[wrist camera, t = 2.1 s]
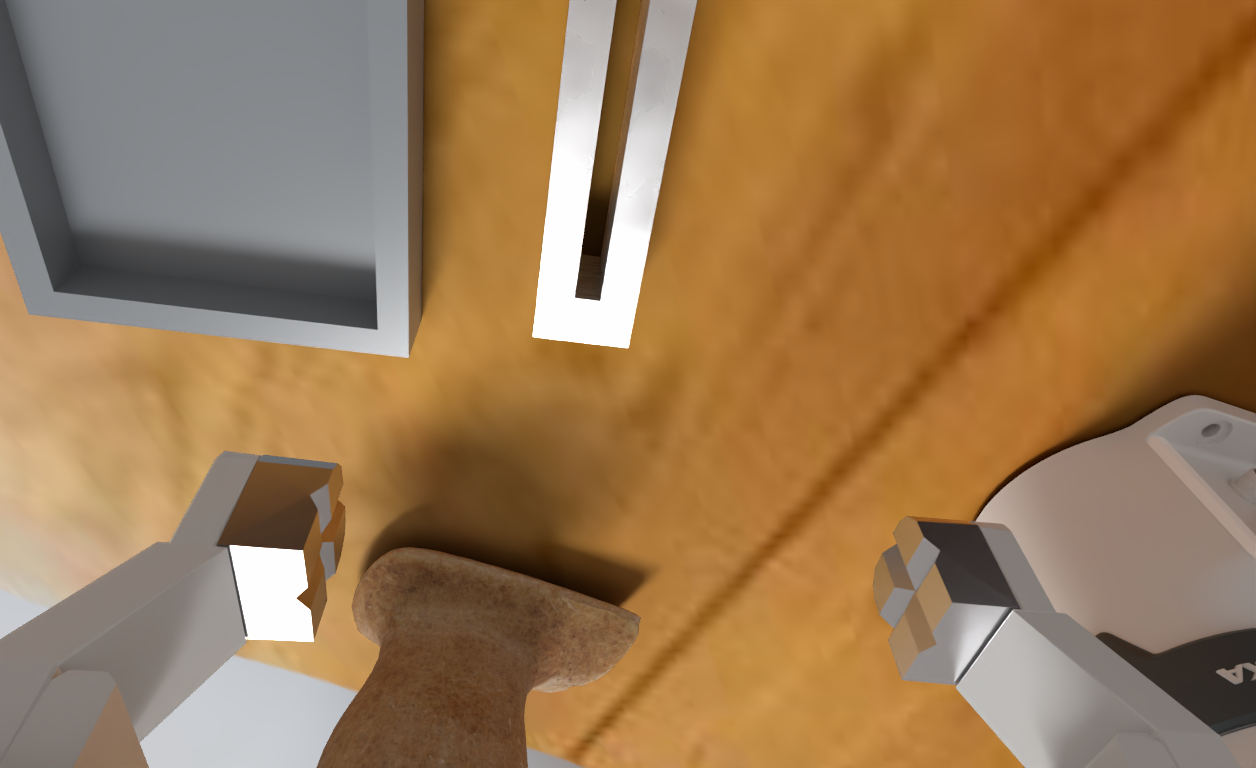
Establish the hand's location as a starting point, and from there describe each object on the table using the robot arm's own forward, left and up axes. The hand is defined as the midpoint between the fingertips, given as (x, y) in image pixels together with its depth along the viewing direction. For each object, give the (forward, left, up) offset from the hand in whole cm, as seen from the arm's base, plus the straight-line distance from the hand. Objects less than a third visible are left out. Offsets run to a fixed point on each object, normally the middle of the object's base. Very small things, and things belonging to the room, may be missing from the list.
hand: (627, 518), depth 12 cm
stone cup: (+3, +32, -22) cm, 39 cm away
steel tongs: (0, 0, -22) cm, 22 cm away
